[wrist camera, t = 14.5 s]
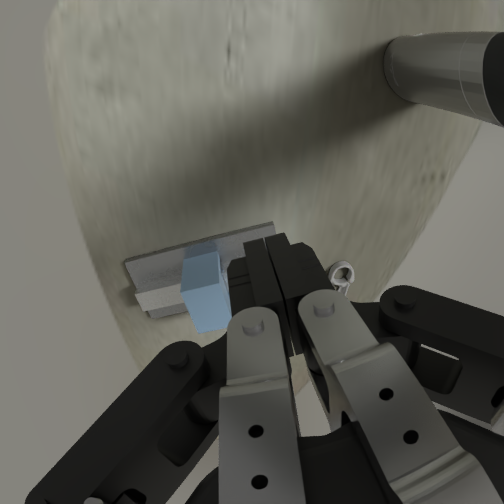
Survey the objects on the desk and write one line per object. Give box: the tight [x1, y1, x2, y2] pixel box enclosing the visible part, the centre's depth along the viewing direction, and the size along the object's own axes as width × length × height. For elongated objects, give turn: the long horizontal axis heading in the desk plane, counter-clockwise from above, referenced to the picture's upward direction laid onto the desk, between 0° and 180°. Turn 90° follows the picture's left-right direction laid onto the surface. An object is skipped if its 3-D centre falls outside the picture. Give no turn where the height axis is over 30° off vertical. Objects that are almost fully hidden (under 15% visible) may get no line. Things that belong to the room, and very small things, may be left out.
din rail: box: [125, 221, 276, 319], centre depth 42 cm, size 20×10×4 cm, turn 102°
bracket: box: [328, 261, 354, 295], centre depth 49 cm, size 8×2×15 cm
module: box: [180, 251, 232, 334], centre depth 40 cm, size 4×7×7 cm
